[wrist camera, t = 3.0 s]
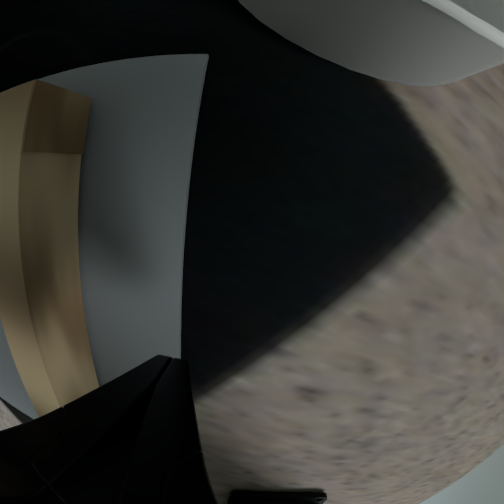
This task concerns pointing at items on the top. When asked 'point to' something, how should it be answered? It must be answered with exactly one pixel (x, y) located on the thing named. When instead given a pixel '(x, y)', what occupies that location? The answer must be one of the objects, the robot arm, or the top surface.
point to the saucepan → (394, 35)
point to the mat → (129, 210)
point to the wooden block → (43, 241)
